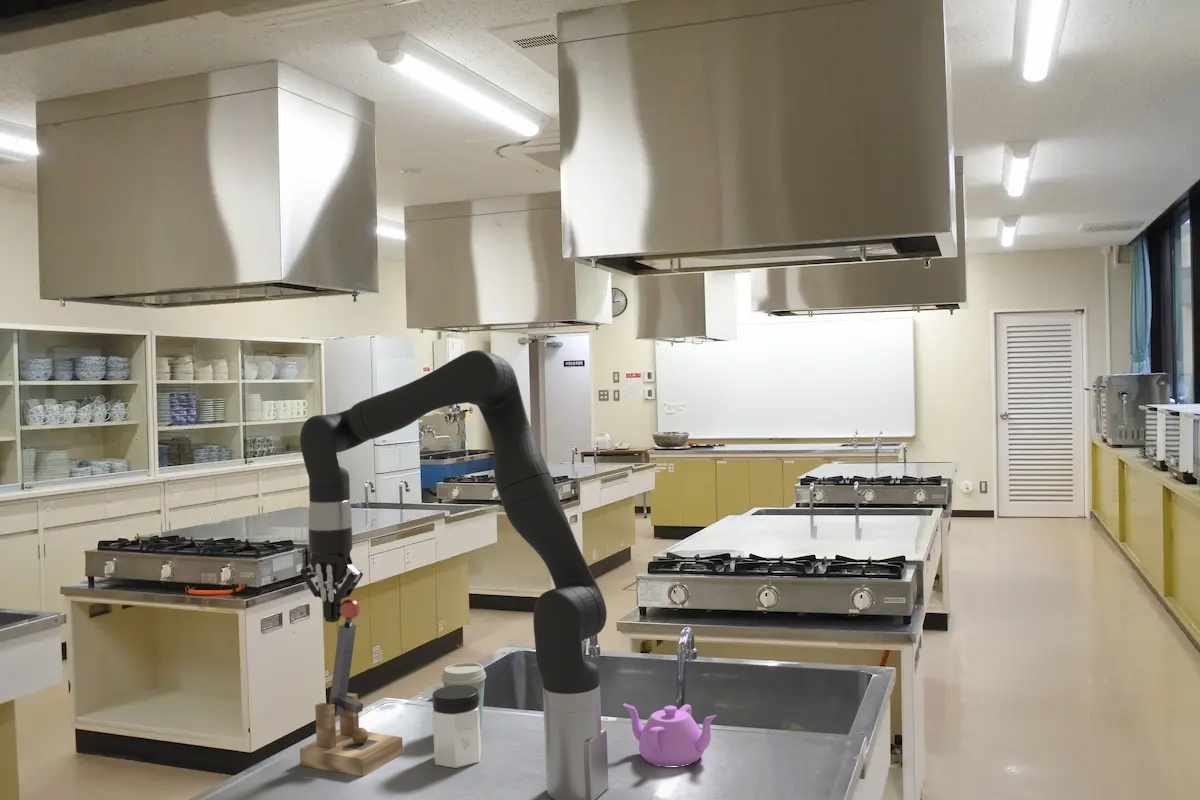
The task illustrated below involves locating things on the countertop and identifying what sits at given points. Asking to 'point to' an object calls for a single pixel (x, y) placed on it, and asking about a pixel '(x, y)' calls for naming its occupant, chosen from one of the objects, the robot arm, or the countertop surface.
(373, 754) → the cracker base
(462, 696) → the jar
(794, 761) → the countertop surface
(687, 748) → the teapot
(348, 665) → the lever
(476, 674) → the coffee cup
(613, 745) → the countertop surface
